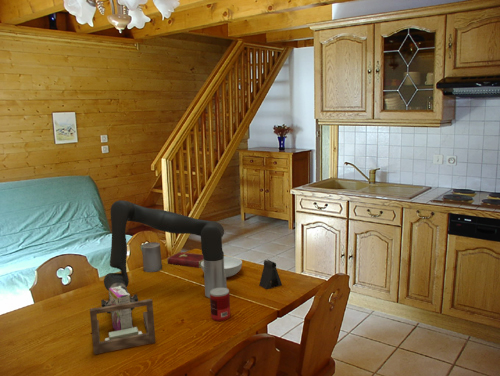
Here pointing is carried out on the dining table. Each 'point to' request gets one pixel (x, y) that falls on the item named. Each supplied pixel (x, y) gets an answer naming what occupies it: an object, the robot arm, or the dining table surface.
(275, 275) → the phone stand
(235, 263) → the serving bowl
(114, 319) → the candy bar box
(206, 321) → the dining table surface
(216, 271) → the robot arm
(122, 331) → the upper offcut
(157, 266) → the pillar candle
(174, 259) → the hardcover book
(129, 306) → the frame
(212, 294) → the canned food
